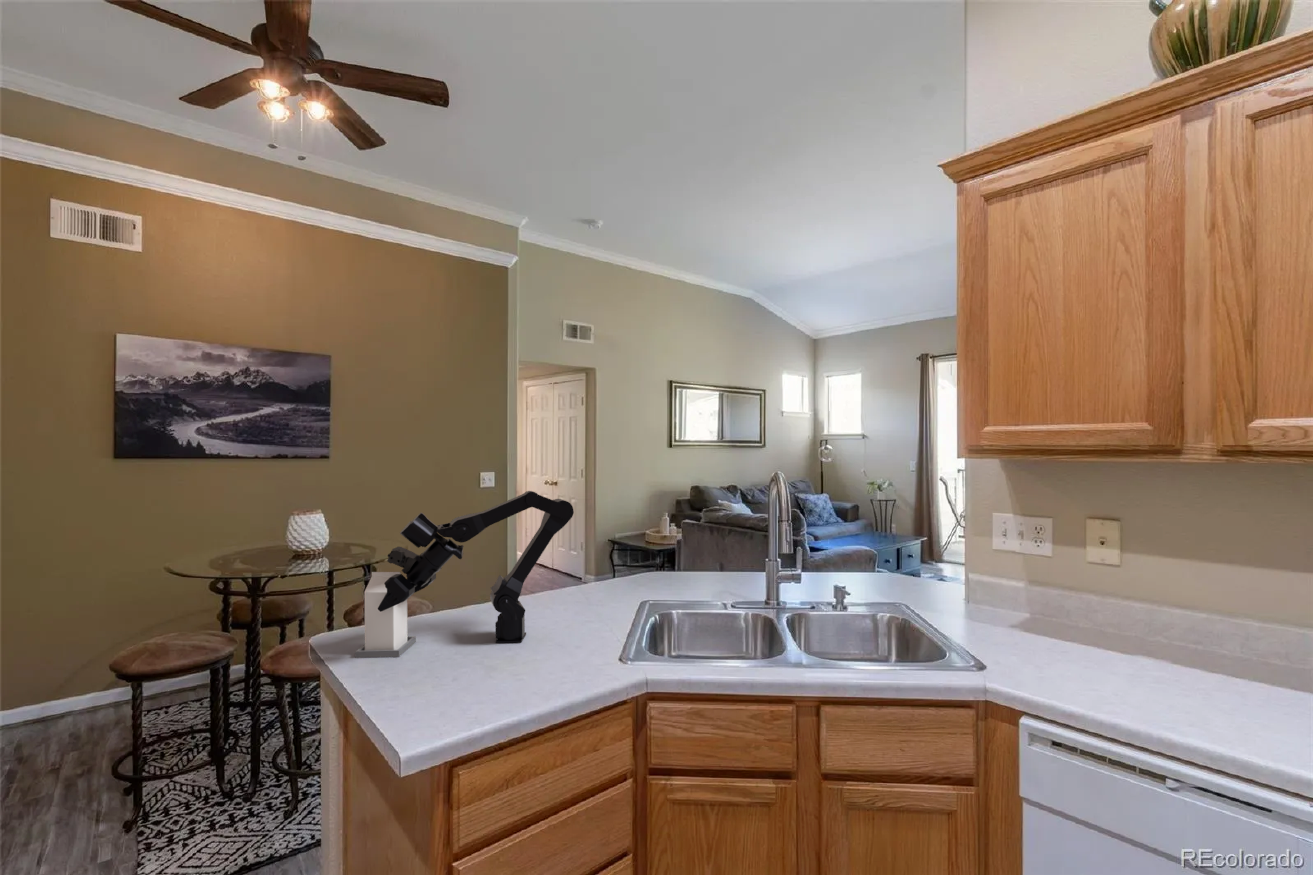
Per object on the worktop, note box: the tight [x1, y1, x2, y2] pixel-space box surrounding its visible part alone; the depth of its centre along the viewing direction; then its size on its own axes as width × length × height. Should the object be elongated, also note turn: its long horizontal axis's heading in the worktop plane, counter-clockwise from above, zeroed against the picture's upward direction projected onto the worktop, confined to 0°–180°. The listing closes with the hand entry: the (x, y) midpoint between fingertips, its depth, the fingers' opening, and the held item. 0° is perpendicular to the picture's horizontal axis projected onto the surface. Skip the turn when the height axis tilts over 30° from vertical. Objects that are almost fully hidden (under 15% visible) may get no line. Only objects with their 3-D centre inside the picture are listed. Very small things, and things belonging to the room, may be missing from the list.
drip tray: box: [354, 635, 417, 659], centre depth 141 cm, size 10×10×2 cm
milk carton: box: [364, 571, 408, 650], centre depth 142 cm, size 7×7×19 cm
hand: (387, 604), depth 141 cm, fingers open, 9 cm apart
